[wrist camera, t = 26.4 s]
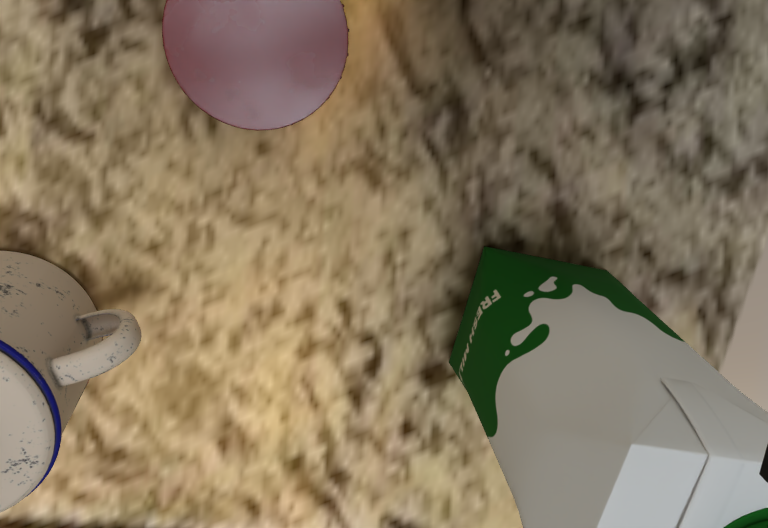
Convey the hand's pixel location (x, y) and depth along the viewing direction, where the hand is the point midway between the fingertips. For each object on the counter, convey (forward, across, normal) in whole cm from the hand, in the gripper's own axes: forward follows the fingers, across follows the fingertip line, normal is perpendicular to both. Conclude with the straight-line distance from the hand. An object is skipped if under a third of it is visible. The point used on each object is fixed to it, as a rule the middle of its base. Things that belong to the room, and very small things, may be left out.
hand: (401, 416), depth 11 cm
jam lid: (+23, -3, +4) cm, 24 cm away
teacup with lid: (+25, -14, -10) cm, 30 cm away
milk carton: (+25, +11, -10) cm, 29 cm away
